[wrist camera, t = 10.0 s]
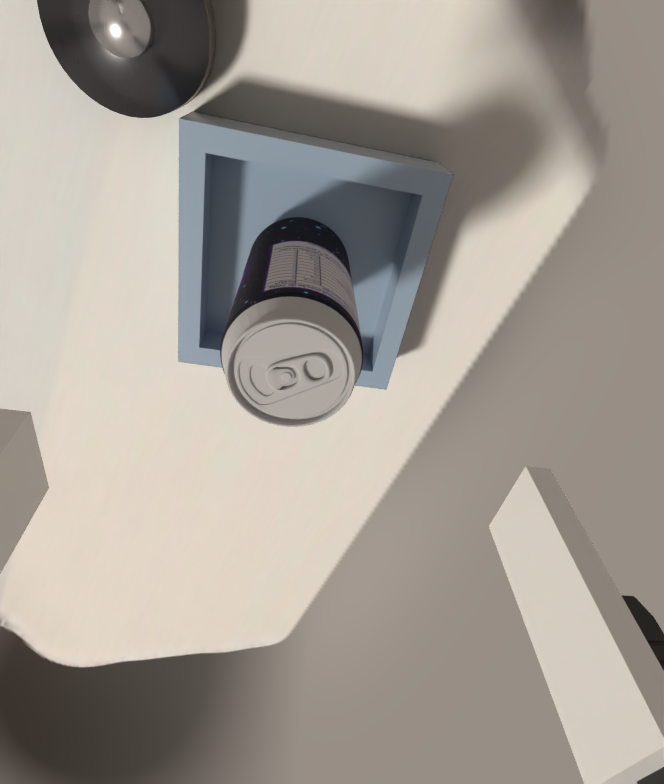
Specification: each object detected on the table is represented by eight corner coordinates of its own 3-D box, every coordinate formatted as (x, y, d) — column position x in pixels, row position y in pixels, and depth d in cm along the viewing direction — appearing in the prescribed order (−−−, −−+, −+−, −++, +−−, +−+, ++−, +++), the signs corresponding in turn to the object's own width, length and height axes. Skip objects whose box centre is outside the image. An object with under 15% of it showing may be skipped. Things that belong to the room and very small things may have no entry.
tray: (192, 111, 24) (179, 118, 21) (439, 162, 26) (453, 174, 23) (188, 337, 31) (178, 361, 29) (380, 364, 33) (386, 389, 30)
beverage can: (235, 227, 26) (189, 330, 17) (334, 200, 26) (346, 290, 16) (269, 317, 30) (246, 447, 20) (357, 294, 29) (379, 417, 19)
